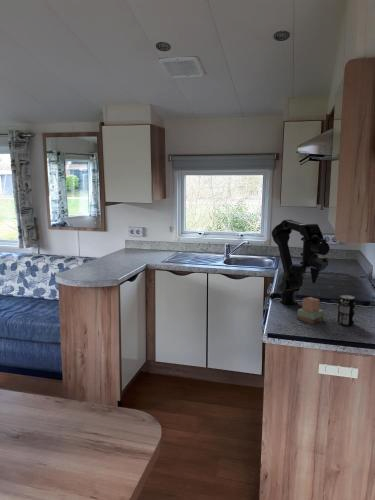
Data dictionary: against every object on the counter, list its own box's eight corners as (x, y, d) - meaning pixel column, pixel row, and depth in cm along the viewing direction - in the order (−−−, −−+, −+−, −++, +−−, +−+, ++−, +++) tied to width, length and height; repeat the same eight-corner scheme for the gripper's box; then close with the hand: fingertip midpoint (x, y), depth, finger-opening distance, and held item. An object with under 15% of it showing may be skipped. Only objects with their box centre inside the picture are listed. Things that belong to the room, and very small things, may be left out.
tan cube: (309, 307, 174) (309, 296, 173) (318, 310, 170) (319, 299, 169) (302, 309, 171) (302, 298, 170) (312, 312, 167) (312, 301, 166)
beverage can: (349, 321, 170) (351, 294, 168) (356, 326, 163) (358, 298, 161) (334, 321, 170) (336, 294, 168) (341, 326, 163) (343, 299, 161)
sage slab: (307, 311, 177) (308, 306, 176) (323, 315, 171) (324, 310, 170) (297, 315, 172) (297, 309, 171) (313, 319, 166) (313, 314, 165)
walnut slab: (308, 316, 177) (308, 311, 177) (323, 321, 171) (323, 316, 170) (296, 320, 172) (296, 314, 172) (311, 325, 166) (311, 319, 166)
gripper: (310, 256, 166) (308, 291, 168) (337, 252, 176) (335, 285, 179) (290, 252, 175) (288, 286, 177) (316, 248, 185) (314, 280, 188)
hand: (307, 284), depth 180 cm, fingers open, 9 cm apart
